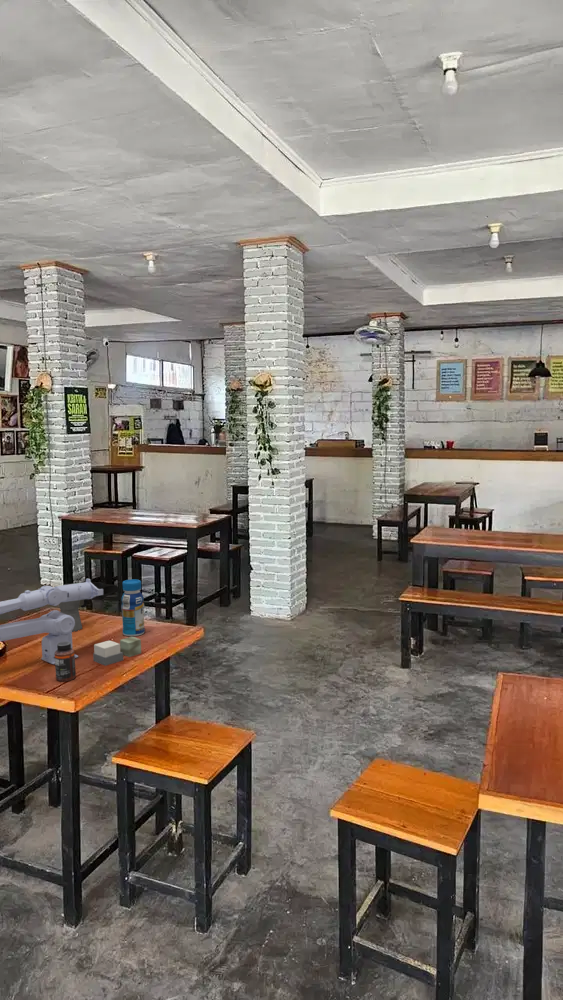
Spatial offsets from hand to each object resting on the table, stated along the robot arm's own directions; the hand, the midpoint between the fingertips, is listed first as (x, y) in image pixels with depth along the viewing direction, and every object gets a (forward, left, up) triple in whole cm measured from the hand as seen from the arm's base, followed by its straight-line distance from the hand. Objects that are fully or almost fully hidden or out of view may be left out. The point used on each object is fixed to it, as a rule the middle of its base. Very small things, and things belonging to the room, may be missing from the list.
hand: (111, 587), depth 248 cm
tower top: (-11, -13, -18) cm, 25 cm away
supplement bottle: (-29, -17, -21) cm, 40 cm away
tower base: (-11, -13, -21) cm, 27 cm away
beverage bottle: (+12, +5, -21) cm, 25 cm away
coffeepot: (+1, +28, -21) cm, 35 cm away
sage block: (-2, -13, -21) cm, 25 cm away
